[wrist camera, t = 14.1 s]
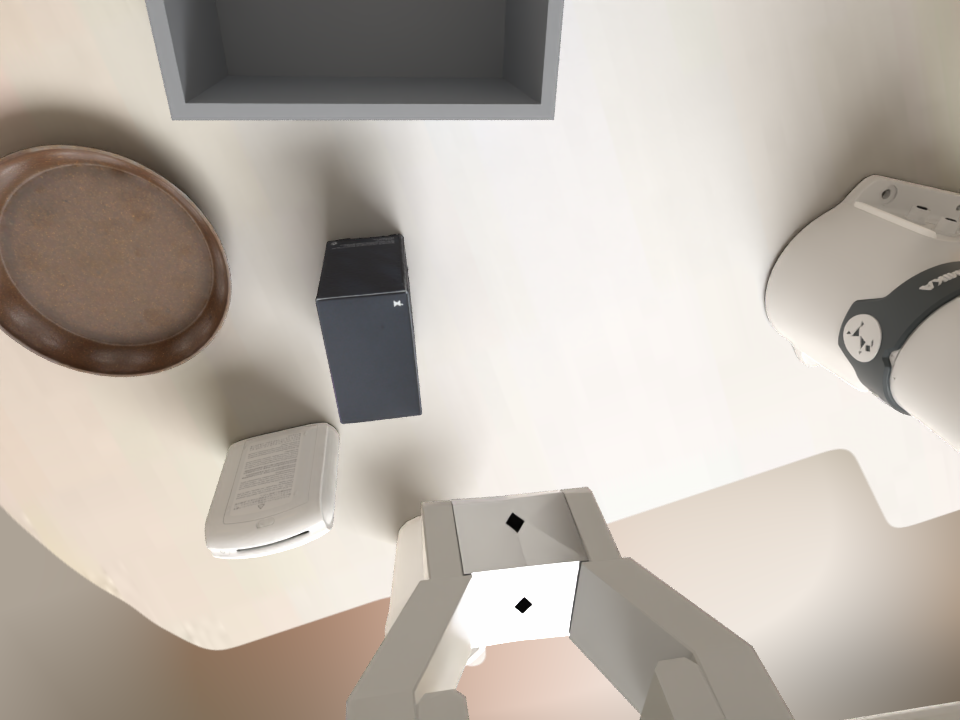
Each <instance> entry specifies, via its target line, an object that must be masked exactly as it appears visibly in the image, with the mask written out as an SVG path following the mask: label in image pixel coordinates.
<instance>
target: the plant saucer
mask: <svg viewBox="0 0 960 720" xmlns="http://www.w3.org/2000/svg"><path fill="white" fill-rule="evenodd" d="M230 300H231V274H230V268H229V264H228V260H227V256H226V254H225V251H224V248H223V246H222V243H221V241H220V239H219V237H218V235H217V233H216V232H215V230H214V228H213V227H212V225H211V223H210V222H209V221H208V219H207V218H206V217H205V215H204V214H203V213H202V211H201V210H200V209H199V208H198V207H197V206H196V204H195V203H194V202H193V201H192V200H191V199H190V198H189V197H188V196H187V195H186V194H185V193H183V192H182V191H181V190H180V189H179V188H177V187H176V186H175V185H174V184H172V183H171V182H170V181H168V180H167V179H166V178H164V177H162V176H161V175H159V174H158V173H156V172H154V171H153V170H151V169H149V168H147V167H146V166H144V165H142V164H140V163H138V162H136V161H133V160H131V159H129V158H126V157H124V156H121V155H118V154H115V153H112V152H108V151H104V150H100V149H95V148H90V147H84V146H76V145H44V146H37V147H31V148H27V149H23V150H19V151H17V152H14V153H11V154H9V155H7V156H4V157H2V158H0V329H1V330H2V331H3V332H4V333H6V334H7V335H8V336H9V337H11V338H12V339H13V340H15V341H16V342H17V343H19V344H20V345H22V346H23V347H25V348H26V349H28V350H29V351H31V352H33V353H35V354H37V355H38V356H40V357H42V358H44V359H46V360H48V361H50V362H53V363H55V364H58V365H61V366H64V367H67V368H69V369H73V370H76V371H80V372H85V373H89V374H94V375H100V376H111V377H135V376H143V375H150V374H155V373H159V372H162V371H166V370H169V369H171V368H174V367H176V366H179V365H181V364H183V363H185V362H187V361H188V360H190V359H191V358H193V357H194V356H196V355H197V354H198V353H200V352H201V351H202V350H203V349H204V348H206V347H207V346H208V345H209V344H210V342H211V341H212V340H213V339H214V338H215V336H216V335H217V334H218V332H219V330H220V329H221V327H222V325H223V323H224V321H225V318H226V316H227V312H228V309H229V305H230Z"/></svg>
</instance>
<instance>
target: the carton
mask: <svg viewBox="0 0 960 720" xmlns="http://www.w3.org/2000/svg"><path fill="white" fill-rule="evenodd" d="M145 2H146V7H147V11H148V16H149V20H150V25H151V29H152V33H153V38H154V42H155V47H156V51H157V56H158V60H159V65H160V69H161V73H162V78H163V82H164V87H165V91H166V96H167V100H168V104H169V109H170V113H171V118H172V120H554V113H555V101H556V89H557V77H558V65H559V54H560V42H561V30H562V18H563V6H564V0H145Z"/></svg>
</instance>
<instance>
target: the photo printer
mask: <svg viewBox="0 0 960 720" xmlns="http://www.w3.org/2000/svg"><path fill="white" fill-rule="evenodd" d="M339 443H340V437H339V434H338V432H337V431H336V429H335V428H334V427H332V426H331V425H328V423H315V424H309V425H304V426H299V427H295V428H291V429H286V430H282V431H277V432H273V433H269V434H264V435H260V436H256V437H252V438H248V439H245V440H241V441H238V442H236V443H234V444H232V445H231V446H230V447H229V449H228V452H227V456H226V459H225V462H224V465H223V469H222V471H221V475H220V478H219V481H218V484H217V487H216V491H215V494H214V497H213V500H212V503H211V506H210V509H209V513H208V516H207V519H206V523H205V540H206V546H207V548H208V549H210V550H211V552H212V555H213V556H214V557H216V558H223V559H245V558H254V557H260V556H265V555H270V554H274V553H278V552H282V551H285V550H289V549H292V548H295V547H298V546H300V545H303V544H305V543H308V542H310V541H312V540H315V539H317V538H318V537H320V536H322V535H324V534H325V533H327V532H329V531H330V530H331V529H332V527H333V520H334V508H335V496H336V485H337V472H338V458H339Z"/></svg>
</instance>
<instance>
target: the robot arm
mask: <svg viewBox="0 0 960 720" xmlns="http://www.w3.org/2000/svg"><path fill="white" fill-rule="evenodd" d="M884 191H885V192H884ZM883 192H884V194H883V195H882V193H883ZM765 305H766V312H767V316H768V319H769V321H770V323H771V325H772V327H773V328H774V329H775V331H776V332H777V333H778V334H780V335H781V336H782V337H783V338H785V339H786V340H788V341H789V342H790V343H791V344H792V345H793V347H794V350H795V353H796V356H797V358H798V359H799V361H800V362H802V363H803V364H805V365H806V366H808V367H816V366H822V367H824V368H825V369H827V370H828V371H830V372H831V373H833V374H834V375H836V376H837V377H839V378H840V379H842V380H843V381H845V382H846V383H848V384H849V385H851V386H852V387H854V388H855V389H857V390H859V391H863V392H867V391H871V392H872V394H873V395H875V396H876V397H877V398H878V399H879V400H881V401H882V402H883V403H885V404H887V405H889V406H891V407H893V408H894V409H895V410H897V411H899V412H901V413H903V414H906V415H910V416H913V417H914V418H915V419H917V420H918V421H919V422H921V423H922V424H923V425H924V426H926V427H927V428H928V429H929V430H931V431H932V432H933V433H935V434H936V435H937V436H938V437H940V438H941V439H942V440H943V441H945V442H946V443H947V444H948V445H950V446H951V447H952V448H954V449H955V450H956V451H957V452H959V453H960V193H955V192H951V191H946V190H942V189H937V188H933V187H929V186H924V185H920V184H915V183H911V182H906V181H902V180H897V179H893V178H888V177H884V176H880V175H872V176H869V177H867V178H865V179H864V180H863V181H861V182H860V183H859V184H858V185H857V186H856V187H855V188H854V189H853V190H852V191H851V192H850V194H849V195H848V196H847V197H846V198H845V199H844V200H843V201H842V202H841V203H840V204H839V205H837V206H836V207H834V208H833V209H831V210H830V211H828V212H826V213H825V214H823V215H821V216H820V217H818V218H817V219H815V220H814V221H812V222H811V223H810V224H809V225H807V226H806V227H805V228H804V229H803V230H802V231H800V232H799V233H798V234H797V235H796V236H795V237H794V239H793V240H792V241H791V242H790V243H789V244H788V246H787V247H786V248H785V249H784V251H783V252H782V254H781V255H780V257H779V259H778V260H777V262H776V264H775V266H774V268H773V270H772V272H771V275H770V278H769V281H768V285H767V289H766V297H765ZM421 524H422V553H423V573H424V580H421V581H419V583H418V585H417V586H416V588H415V589H414V591H413V593H412V594H411V596H410V598H409V599H408V601H407V603H406V604H405V606H404V608H403V609H402V611H401V612H400V614H399V616H398V617H397V619H396V621H395V622H394V624H393V626H392V627H391V629H390V630H389V632H388V634H387V635H386V637H385V639H384V641H383V642H382V644H381V645H380V647H379V649H378V650H377V652H376V654H375V655H374V657H373V658H372V660H371V662H370V663H369V665H368V666H367V668H366V670H365V671H364V673H363V675H362V676H361V678H360V680H359V681H358V683H357V685H356V686H355V688H354V690H353V691H352V693H351V694H350V696H349V698H348V699H347V701H346V720H469V716H468V709H467V702H466V697H465V696H464V695H463V694H461V693H460V692H458V691H456V687H457V685H458V682H459V680H460V677H461V675H462V672H463V670H464V668H465V665H466V663H467V661H468V658H469V656H470V653H471V648H474V647H480V646H486V645H493V644H499V643H505V642H511V641H517V640H527V639H537V638H547V637H557V636H567V635H569V638H570V639H571V640H572V642H573V643H574V644H575V645H576V646H577V647H578V648H579V649H580V650H581V651H582V652H583V653H584V654H585V656H586V657H587V658H588V659H589V660H590V661H591V662H592V663H593V664H594V665H595V666H596V667H597V668H598V669H599V671H600V672H601V673H602V674H603V675H604V676H605V677H606V678H607V679H608V680H609V681H610V682H611V683H612V684H613V686H614V687H615V688H616V689H617V690H618V691H619V692H620V693H621V694H622V695H623V696H624V697H625V698H626V699H627V701H628V702H629V703H630V704H631V705H632V706H633V707H634V708H635V709H636V710H637V711H638V712H639V713H640V715H641V717H640V720H795V719H794V717H793V715H792V714H791V712H790V710H789V709H788V707H787V705H786V703H785V702H784V700H783V698H782V696H781V695H780V693H779V691H778V690H777V688H776V686H775V684H774V683H773V681H772V679H771V677H770V676H769V674H768V672H767V671H766V669H765V667H764V665H763V664H762V662H761V660H760V659H759V657H758V655H757V653H756V652H755V650H754V648H753V646H751V645H750V644H749V643H747V642H746V641H745V640H743V639H742V638H740V637H739V636H738V635H736V634H735V633H734V632H732V631H731V630H729V629H728V628H727V627H725V626H724V625H723V624H721V623H720V622H718V621H717V620H716V619H714V618H713V617H711V616H710V615H709V614H707V613H706V612H705V611H703V610H702V609H701V608H699V607H698V606H697V605H695V604H694V603H692V602H691V601H690V600H688V599H687V598H685V597H684V596H683V595H681V594H680V593H678V592H677V591H676V590H674V589H673V588H672V587H670V586H669V585H668V584H666V583H665V582H664V581H662V580H661V579H659V578H658V577H657V576H655V575H654V574H652V573H651V572H650V571H648V570H647V569H646V568H644V567H643V566H641V565H640V564H639V563H637V562H636V561H634V560H633V559H632V558H631V557H627V558H622V557H621V555H620V553H619V551H618V548H617V546H616V544H615V542H614V539H613V537H612V535H611V533H610V530H609V528H608V527H607V524H606V522H605V519H604V517H603V515H602V513H601V510H600V508H599V506H598V504H597V502H596V499H595V497H594V495H593V493H592V491H591V490H590V489H589V488H588V487H582V488H572V489H562V490H560V491H559V490H553V491H544V492H534V493H524V494H515V495H505V496H496V497H482V498H467V499H452V500H451V501H450V500H448V501H432V502H422V503H421ZM846 720H960V701H958V702H951V703H945V704H939V705H933V706H927V707H921V708H914V709H909V710H902V711H896V712H890V713H884V714H877V715H871V716H865V717H859V718H852V719H846Z"/></svg>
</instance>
